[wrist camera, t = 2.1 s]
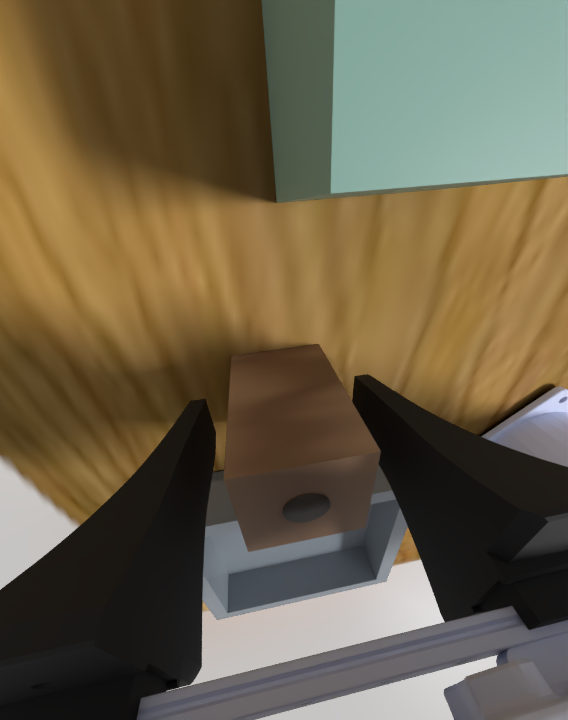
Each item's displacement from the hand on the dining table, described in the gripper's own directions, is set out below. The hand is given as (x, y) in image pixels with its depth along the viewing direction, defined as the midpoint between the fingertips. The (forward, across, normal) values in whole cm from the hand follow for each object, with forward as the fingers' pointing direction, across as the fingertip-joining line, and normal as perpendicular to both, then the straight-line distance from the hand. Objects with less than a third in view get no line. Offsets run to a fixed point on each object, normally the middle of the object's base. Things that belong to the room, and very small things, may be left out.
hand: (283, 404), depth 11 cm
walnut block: (+2, 0, 0) cm, 2 cm away
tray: (+1, 0, +13) cm, 13 cm away
